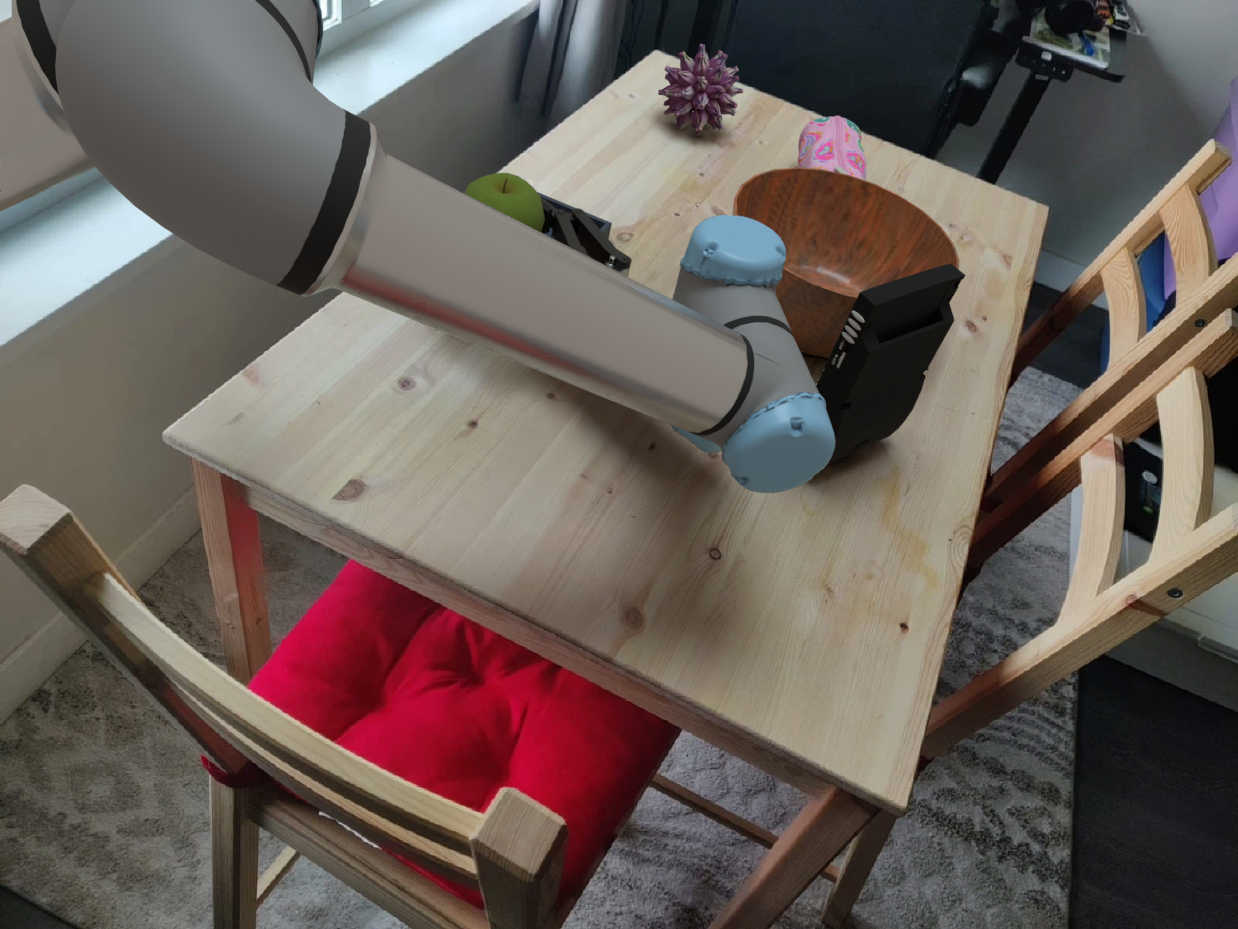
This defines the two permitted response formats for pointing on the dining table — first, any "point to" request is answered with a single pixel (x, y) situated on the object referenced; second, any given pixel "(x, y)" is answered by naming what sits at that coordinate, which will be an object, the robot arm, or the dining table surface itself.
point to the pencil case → (832, 147)
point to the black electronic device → (885, 356)
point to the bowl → (838, 244)
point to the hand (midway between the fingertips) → (472, 200)
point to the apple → (509, 197)
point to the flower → (701, 90)
